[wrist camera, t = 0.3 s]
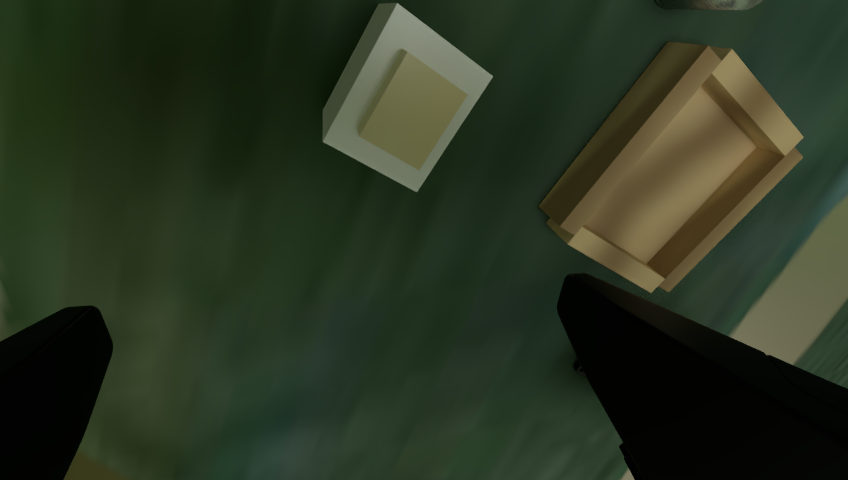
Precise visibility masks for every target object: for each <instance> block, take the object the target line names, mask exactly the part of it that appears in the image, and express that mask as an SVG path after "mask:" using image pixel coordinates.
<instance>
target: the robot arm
mask: <svg viewBox="0 0 848 480" xmlns="http://www.w3.org/2000/svg"><path fill="white" fill-rule="evenodd" d="M557 311H558V315H559V317H560V319H561V322H562V324H563V326H564V329H565V331H566V333H567V335H568V338H569V340H570V342H571V345H572V347H573V349H574V351H575V354H576V356H577V358H578V362H577V363H576V364H575V366H574V369H575V371H576V372H577V373H578V374H580V375H582V376H585V377H587V379H588V381H589V383H590V385H591V386H592V388H593V390H594V392H595V394H596V395H597V397H598V399H599V401H600V402H601V404H602V406H603V408H604V409H605V411H606V413H607V415H608V417H609V418H610V420H611V422H612V424H613V425H614V427H615V429H616V431H617V432H618V434H619V436H620V438H621V440H622V441H623V443H622V444H621V445H620V446H619V448H620V449H621V451H622V453H623V455H624V457H625V458H624V460H625V462H626V464H627V466H628V468H629V469H630V471H631V473H632V475H633V477H634V479H635V480H848V389H847V388H845V387H842V386H840V385H837V384H835V383H833V382H830V381H828V380H826V379H823V378H821V377H819V376H816V375H814V374H812V373H809V372H807V371H805V370H803V369H800V368H798V367H796V366H793V365H791V364H789V363H786V362H784V361H782V360H780V359H778V358H775V357H773V356H771V355H766V354H765V353H764V352H762V351H759V350H757V349H755V348H753V347H750V346H748V345H746V344H744V343H742V342H739V341H737V340H735V339H733V338H730V337H728V336H726V335H724V334H721V333H719V332H717V331H715V330H712V329H710V328H708V327H706V326H704V325H701V324H699V323H697V322H695V321H692V320H690V319H688V318H686V317H683V316H681V315H679V314H677V313H674V312H672V311H670V310H668V309H665V308H663V307H661V306H659V305H656V304H654V303H652V302H650V301H648V300H645V299H643V298H641V297H639V296H636V295H634V294H632V293H630V292H627V291H625V290H623V289H621V288H618V287H616V286H614V285H612V284H609V283H607V282H605V281H603V280H601V279H598V278H596V277H594V276H592V275H589V274H587V273H575V274H569V275H567V276H566V277H565V279H564V282H563V286H562V289H561V293H560V296H559V299H558V303H557ZM112 352H113V343H112V339H111V336H110V334H109V332H108V329H107V327H106V324H105V322H104V319H103V317H102V314H101V312H100V310H99V309H98V308H97V307H94V306H75V307H67V308H64V309H61V310H60V311H58V312H56V313H54V314H52V315H50V316H48V317H46V318H44V319H42V320H40V321H39V322H37V323H35V324H33V325H31V326H29V327H27V328H25V329H23V330H21V331H20V332H18V333H16V334H14V335H12V336H10V337H8V338H6V339H4V340H2V341H0V480H63V479H64V477H65V475H66V473H67V471H68V469H69V467H70V465H71V462H72V460H73V458H74V456H75V454H76V452H77V450H78V448H79V445H80V443H81V441H82V439H83V436H84V434H85V431H86V428H87V426H88V423H89V420H90V417H91V414H92V411H93V409H94V406H95V403H96V400H97V397H98V394H99V391H100V388H101V385H102V382H103V379H104V376H105V374H106V371H107V368H108V365H109V362H110V359H111V356H112Z"/></svg>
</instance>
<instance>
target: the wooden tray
mask: <svg viewBox="0 0 848 480" xmlns="http://www.w3.org/2000/svg"><path fill="white" fill-rule="evenodd" d="M802 138H803V136H802V135H801V133H800V132H799V131H798V130H797V128H796V127H795V126H794V125H793V124H792V122H791V121H790V120H789V119H788V117H787V116H786V115H785V114H784V112H783V111H782V110H781V109H780V108H779V106H778V105H777V104H776V103H775V101H774V100H773V99H772V98H771V96H770V95H769V94H768V93H767V91H766V90H765V89H764V88H763V87H762V85H761V84H760V83H759V82H758V80H757V79H756V78H755V77H754V75H753V74H752V73H751V72H750V70H749V69H748V68H747V67H746V66H745V64H744V63H743V62H742V61H741V59H740V58H739V57H738V56H737V54H736V53H735V52H734V51H733V49H728V48H718V47H709V45H699V44H689V43H680V42H670V41H668V42H667V43H666V44H665V45H664V47H663V48H662V49H661V51H660V52H659V53H658V54H657V56H656V57H655V58H654V59H653V61H652V62H651V63H650V65H649V66H648V67H647V68H646V70H645V71H644V72H643V73H642V75H641V76H640V77H639V79H638V80H637V81H636V82H635V84H634V85H633V86H632V88H631V89H630V90H629V91H628V93H627V94H626V95H625V96H624V98H623V99H622V100H621V102H620V103H619V104H618V105H617V107H616V108H615V109H614V110H613V112H612V113H611V114H610V116H609V117H608V118H607V119H606V121H605V122H604V123H603V124H602V126H601V127H600V128H599V130H598V131H597V132H596V133H595V135H594V136H593V137H592V139H591V140H590V141H589V142H588V144H587V145H586V146H585V147H584V149H583V150H582V151H581V153H580V154H579V155H578V156H577V158H576V159H575V160H574V161H573V163H572V164H571V165H570V167H569V168H568V169H567V170H566V172H565V173H564V174H563V175H562V177H561V178H560V179H559V181H558V182H557V183H556V184H555V186H554V187H553V188H552V190H551V191H550V192H549V193H548V195H547V196H546V197H545V198H544V200H543V201H542V202H541V204H540V205H539V206H538V207H539V208H540V209H542V210H543V211H544V212H545V213H546V214H547V215H548V216H549V217H550V219H549V220H548V221H547V222H546V224H547V225H548V226H549V227H550V228H551V229H552V230H553V231H554V232H555V233H556V234H557V235H558V236H560V237H561V238H562V239H563V240H564V241H565V242H566V243H567V244H568V245H570V246H571V247H573V248H575V249H577V250H578V251H580V252H582V253H583V254H585V255H587V256H589V257H590V258H592V259H594V260H595V261H597V262H599V263H600V264H602V265H604V266H606V267H607V268H609V269H611V270H612V271H614V272H616V273H618V274H619V275H621V276H623V277H624V278H626V279H628V280H630V281H631V282H633V283H635V284H636V285H638V286H640V287H642V288H643V289H645V290H647V291H648V292H650V293H652V292H653V291H654V290H655V289H656V288H657V287H658V286H659V287H661V288H662V289H664V290H665V291H667V292H670V291H671V290H672V289H673V288H674V287H675V286H676V285H677V284H678V283H679V282H680V281H681V280H682V279H683V278H684V277H685V276H686V275H687V274H688V273H689V272H690V271H691V270H692V269H693V268H694V267H695V266H696V265H697V264H698V263H699V262H700V261H701V260H702V259H703V258H704V257H705V256H706V255H707V254H708V253H709V252H710V251H711V250H712V249H713V248H714V247H715V246H716V245H717V243H718V242H719V241H720V240H721V239H722V238H723V237H724V236H725V235H726V234H727V233H728V232H729V231H730V230H731V229H732V228H733V227H734V226H735V225H736V224H737V223H738V222H739V221H740V220H741V219H742V218H743V217H744V216H745V215H746V214H747V213H748V212H749V211H750V210H751V209H752V208H753V207H754V206H755V205H756V204H757V203H758V202H759V201H760V200H761V199H762V198H763V197H764V196H765V195H766V194H767V193H768V192H769V191H770V190H771V189H772V188H773V187H774V186H775V185H776V184H777V183H778V182H779V181H780V180H781V179H782V178H783V177H784V176H785V175H786V174H787V173H788V172H789V171H790V170H791V169H792V168H793V167H794V166H795V165H796V164H797V163H798V162H799V161H800V160H801V159H802V158H803V156H802V155H801V154H800V153H799V152H798V151H797V149H796V148H795V146H796V145H797V144H798V143H799V142H800V141H801V139H802Z"/></svg>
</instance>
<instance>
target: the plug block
mask: <svg viewBox="0 0 848 480" xmlns="http://www.w3.org/2000/svg"><path fill="white" fill-rule="evenodd" d="M492 77H493V76H492V75H491V74H489V73H488V72H487V71H485V70H484V69H483V68H481V67H480V66H479V65H478V64H476V63H475V62H474V61H472V60H471V59H470V58H468V57H467V56H466V55H465V54H463V53H462V52H461V51H459V50H458V49H457V48H455V47H454V46H453V45H451V44H450V43H449V42H448V41H446V40H445V39H444V38H442V37H441V36H440V35H438V34H437V33H436V32H434V31H433V30H432V29H431V28H429V27H428V26H427V25H425V24H424V23H423V22H421V21H420V20H419V19H417V18H416V17H415V16H414V15H412V14H411V13H410V12H408V11H407V10H406V9H404V8H403V7H402V6H401V5H399V4H398V3H385V4H378V6H377V8H376V10H375V12H374V13H373V15H372V17H371V19H370V21H369V23H368V25H367V27H366V29H365V31H364V33H363V34H362V36H361V38H360V40H359V42H358V44H357V46H356V48H355V50H354V52H353V54H352V55H351V57H350V59H349V61H348V63H347V65H346V67H345V69H344V71H343V73H342V75H341V76H340V78H339V80H338V82H337V84H336V86H335V88H334V90H333V92H332V94H331V96H330V97H329V99H328V101H327V103H326V105H325V107H324V109H323V142H324V143H326V144H328V145H330V146H332V147H333V148H335V149H337V150H339V151H341V152H343V153H345V154H346V155H348V156H350V157H352V158H354V159H356V160H358V161H359V162H361V163H363V164H365V165H367V166H369V167H371V168H372V169H374V170H376V171H378V172H380V173H382V174H384V175H386V176H387V177H389V178H391V179H393V180H395V181H397V182H399V183H400V184H402V185H404V186H406V187H408V188H410V189H412V190H413V191H415V192H418V190H419V188H420V187H421V185H422V184H423V182H424V181H425V179H426V178H427V176H428V175H429V173H430V172H431V170H432V169H433V167H434V166H435V164H436V163H437V161H438V160H439V158H440V157H441V155H442V154H443V152H444V150H445V149H446V147H447V146H448V144H449V143H450V141H451V140H452V138H453V137H454V135H455V134H456V132H457V131H458V129H459V128H460V126H461V125H462V123H463V122H464V120H465V119H466V117H467V115H468V114H469V112H470V111H471V109H472V108H473V106H474V105H475V103H476V102H477V100H478V99H479V97H480V96H481V94H482V93H483V91H484V90H485V88H486V87H487V85H488V84H489V82H490V81H491V79H492Z"/></svg>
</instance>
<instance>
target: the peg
mask: <svg viewBox="0 0 848 480" xmlns="http://www.w3.org/2000/svg"><path fill="white" fill-rule="evenodd" d="M655 1H656V3H657V4H658V5H659V6H660V7H661V8H664V9H691V10H747V9H750V8H752V7H755V6H756V5H758V4H759V3H760V2H762V1H763V0H655Z"/></svg>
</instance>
